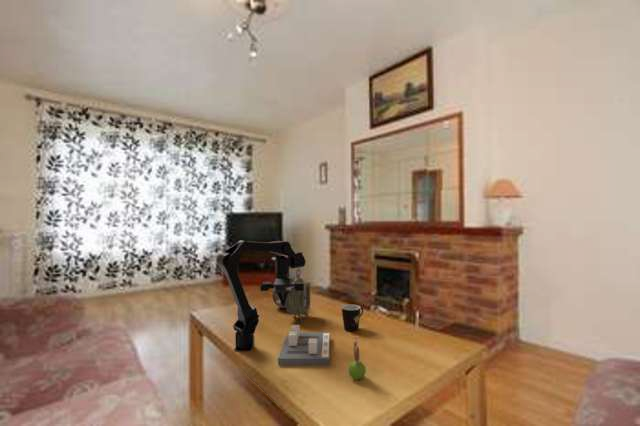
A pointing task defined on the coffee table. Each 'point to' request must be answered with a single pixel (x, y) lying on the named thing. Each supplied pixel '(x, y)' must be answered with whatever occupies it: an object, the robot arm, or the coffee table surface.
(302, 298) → the tabletop clock
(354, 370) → the snail figurine
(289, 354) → the switch panel
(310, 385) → the coffee table surface
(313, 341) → the near slider
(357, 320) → the coffee mug
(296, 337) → the middle slider
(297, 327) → the far slider
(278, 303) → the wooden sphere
